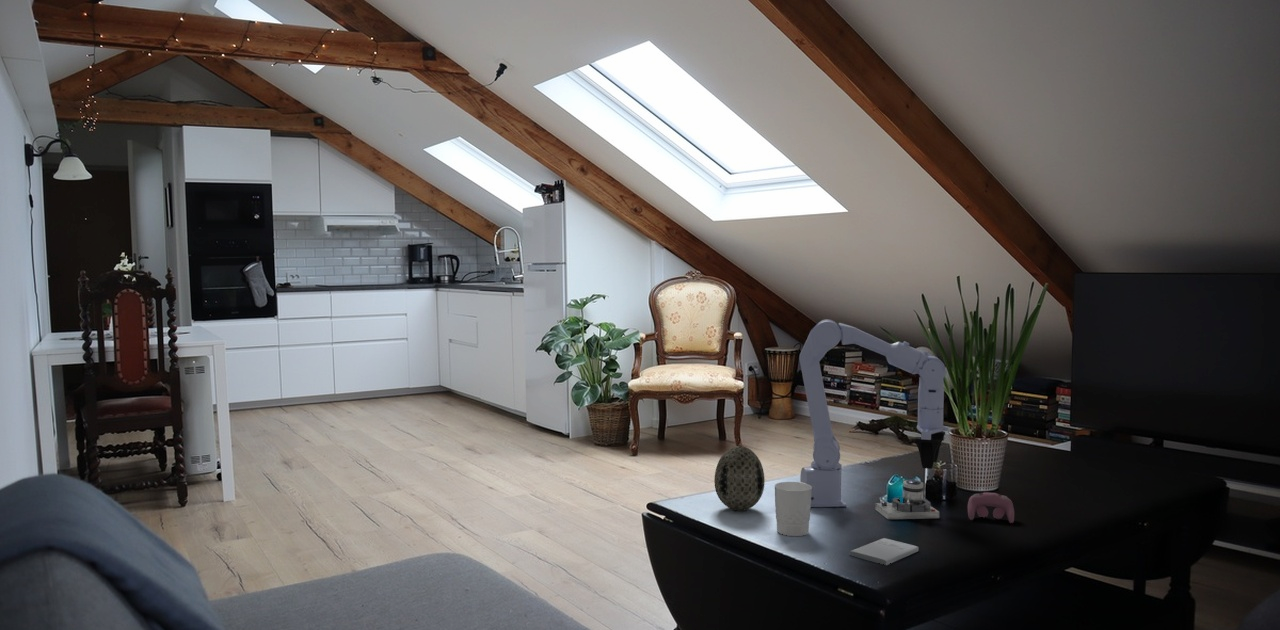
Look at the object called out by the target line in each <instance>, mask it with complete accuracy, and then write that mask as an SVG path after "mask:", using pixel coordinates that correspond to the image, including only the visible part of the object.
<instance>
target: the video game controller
mask: <svg viewBox="0 0 1280 630" xmlns="http://www.w3.org/2000/svg"><path fill="white" fill-rule="evenodd" d="M987 507H994V508H993V511H992V517H993V518H994V519H995V518H996V519H995V520H1001V519H1003V518H1004V515H1006V517H1007V521H1008V523H1010V524H1011V523H1012V524H1013V523H1014V522H1015V508H1014V503H1013V501H1012V500H1011V499H1010V498H1009V497H1008V496H1007V495H1002V494H999V493H996V492H979V493H975V494H972V495H971V496H970V497H969V498H968V500H967V515H968V519H969V520H970V521H973V520H974V519H975V515H976V514H977V516H978V517H980V518H981V517H983V518H982V519H985V517H986V518H987V517H988V516H989V510H988V508H987Z"/></svg>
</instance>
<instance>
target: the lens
mask: <svg viewBox="0 0 1280 630" xmlns="http://www.w3.org/2000/svg"><path fill="white" fill-rule="evenodd" d="M924 484H925V483H924V482H922V481H920V480H916V479H915V480H914V479H908V480H907V479H906V480H904V481H903V482H902V497H903V503H905V504H911V505H916V504H923V498H924V487H925V486H924Z"/></svg>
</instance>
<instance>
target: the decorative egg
mask: <svg viewBox="0 0 1280 630" xmlns="http://www.w3.org/2000/svg"><path fill="white" fill-rule="evenodd" d="M714 471H715V472H714V490H715V492H716V495H717V497H718V499H719V500H720V502H721V503H722V504H723V505H724V506H725V507H727V508H729V509H731V510H734V511H742V512H743V511H746V510H749V509H751V508H753V507H754V506H756V504H758V502H759V501H760V499H761V498H762V496H763V493H764V490H765V482H766V481H765V480H766V479H765V472H764V469H763V465H762V461H761V460H760V459H759V457H758V456H757V454H756V453H755V452H754V451H753V450H752V449H750V448H749V447H746V446H743V445H736V446H732V447H730V448H729V449H727V450H726V451H725V452H724V453H723V454H722V455H721V457H720V458H719V459H718V461H717V465H716V469H715V470H714Z"/></svg>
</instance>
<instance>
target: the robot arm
mask: <svg viewBox="0 0 1280 630" xmlns="http://www.w3.org/2000/svg"><path fill="white" fill-rule="evenodd" d="M840 341H841V345H843V346H845V345H851V344H852V345H853V344H854V345H858V346H859V347H862V348H864V349H867V350H869V351H872V352H875V353H877V354H880V355H881V356H884V357H885V359H886V361H887V363H888V364H889V365H891V366H893V367H896V368H898V369H901V370H903V371H905V372H907V373H909V374H911V375H916V374H917V375H919V379H918V380H919V381H918V383H919V384H918V385H919V386H918V388H917V389H918V390H917V392H918V393H917V425H916V429H917V431H919V433H920V435H921V436H915V437H914V443H915V445H916V447H917V450H918V451H919V457H920V462H921V467H922V469H929V470H932V469H933V467H934V464H935V463H937V462H938V458H939V454H940V447H941V445H942V442H943V439H944V437H945V435H946V432H947V431H949V426H945V425H944V401H945V398H944V397H945V395H944V394H945V388H944V382H945V381H944V379H945V376H946V374H947V370H946V366H945V364H944V362H943V361H942V360H941V359H940V358H938V357H937V356H935V355H934V354H930V353H929V351H927V350H923V351H922V350H919V349H917V348H915V347H912V346H910V343H909V342H907V341H905V340H904V341H903V342H901V341H897V342H894V343H889V342H887V341H885V340H883V339H881V338H878V337H876V336H875V335H872V334H870V333H867V332H865V331H863V330H861V329H859V328H858V327H855V326H852V325H849V324H845V323H842V322H836V321H834V320H832V319H827V318H825V319H822V320H820V321H818V323H816V325H815V326H814V327H813V328H811V330H810V331H809V334H808V336H807V339H806V340H805V342H804V344H803V347H802V349H801V352H800V353H799V359H798V360H799V364H800V371H801V373H802V374H801V375H802V376H801V377H802V381H803V384H804V391H805V395H806V401H807V406H808V411H809V418H810V422H811V426H812V427H811V428H812V434H813V435H812V436H813V441H814V443H813V451H812V458H813V461H811V462H810V465H809V466H804V467H802V468H801V470H800V480H799V482H800V483H805V484H808V485H810V486H812V494H811V508H827V507H828V508H830V507H831V508H832V507H833V508H835V507H837V508H838V507H847V503H846V502H844V501H843V500H842V464H841V463H839V462H840V460H841V452H840V450H841V449H840V444H839V442H838V440H837V439H836V437H835V436H834V435H835V434H834V433H833V432H834V431H833V427H832V422H831V417H830V411H829V406H828V403H827V402H828V401H827V395H826V392H825V387H824V386H825V385H824V380H823V376H822V375H823V374H822V370H821V364H820V361H821V360H822V359H823V357H824V356H825V355H826V354H827V352H829V351H830V350H832V349H833V348H834V347H836V346H837V345H838V344H839V343H840Z"/></svg>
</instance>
